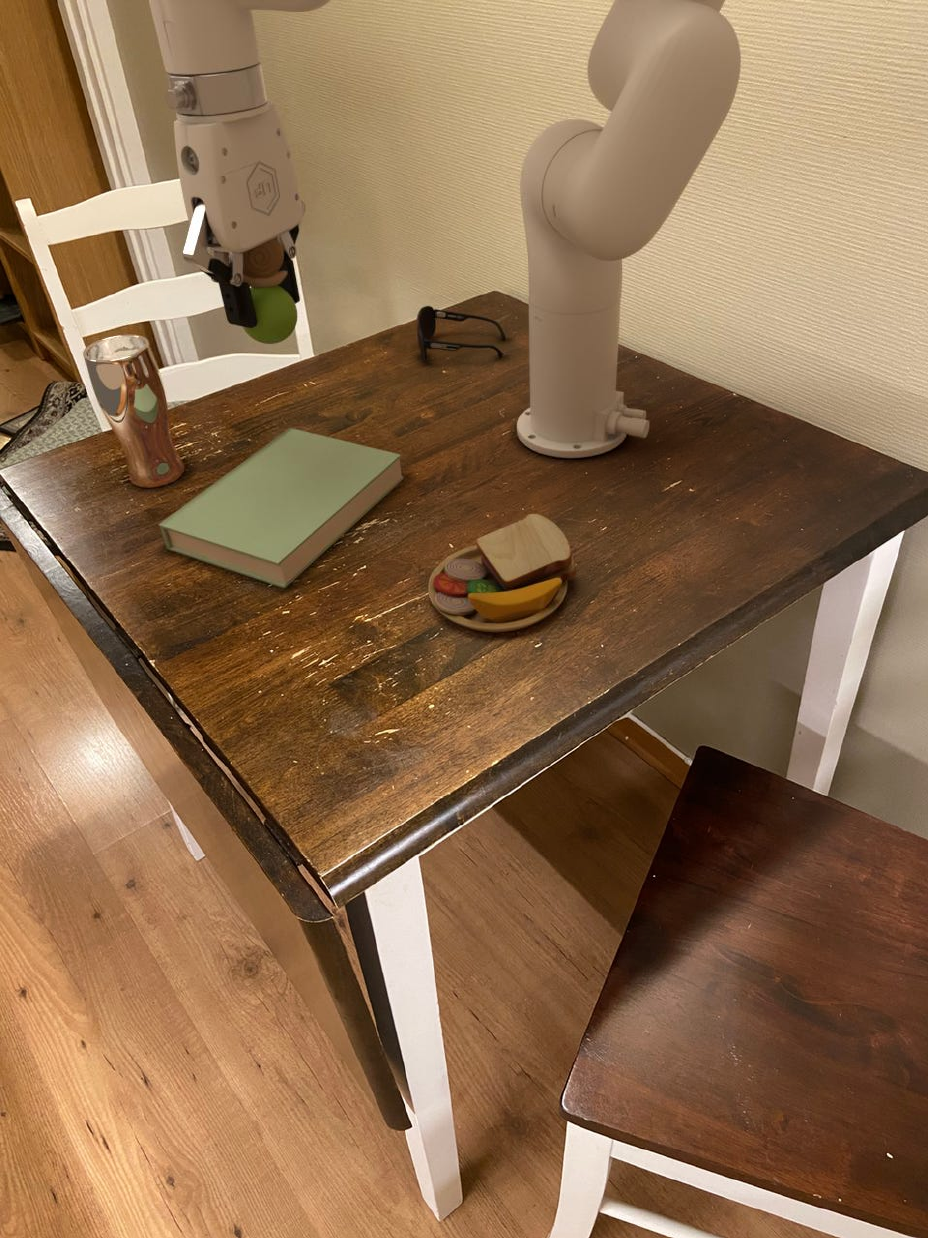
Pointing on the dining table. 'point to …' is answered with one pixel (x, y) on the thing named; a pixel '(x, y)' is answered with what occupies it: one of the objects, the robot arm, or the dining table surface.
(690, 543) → the dining table surface
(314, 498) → the book
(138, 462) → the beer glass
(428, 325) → the sunglasses
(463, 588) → the toy sandwich meal
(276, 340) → the snail figurine
